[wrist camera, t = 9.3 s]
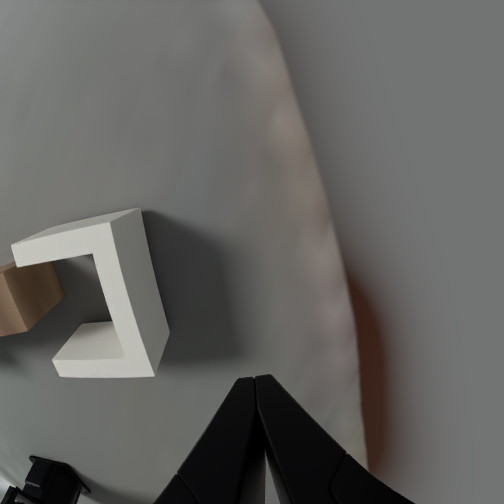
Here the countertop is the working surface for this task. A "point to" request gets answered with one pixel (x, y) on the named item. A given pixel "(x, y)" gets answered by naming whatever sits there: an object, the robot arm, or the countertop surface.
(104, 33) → the countertop surface
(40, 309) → the brown bar
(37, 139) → the countertop surface
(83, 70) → the countertop surface
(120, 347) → the cap
